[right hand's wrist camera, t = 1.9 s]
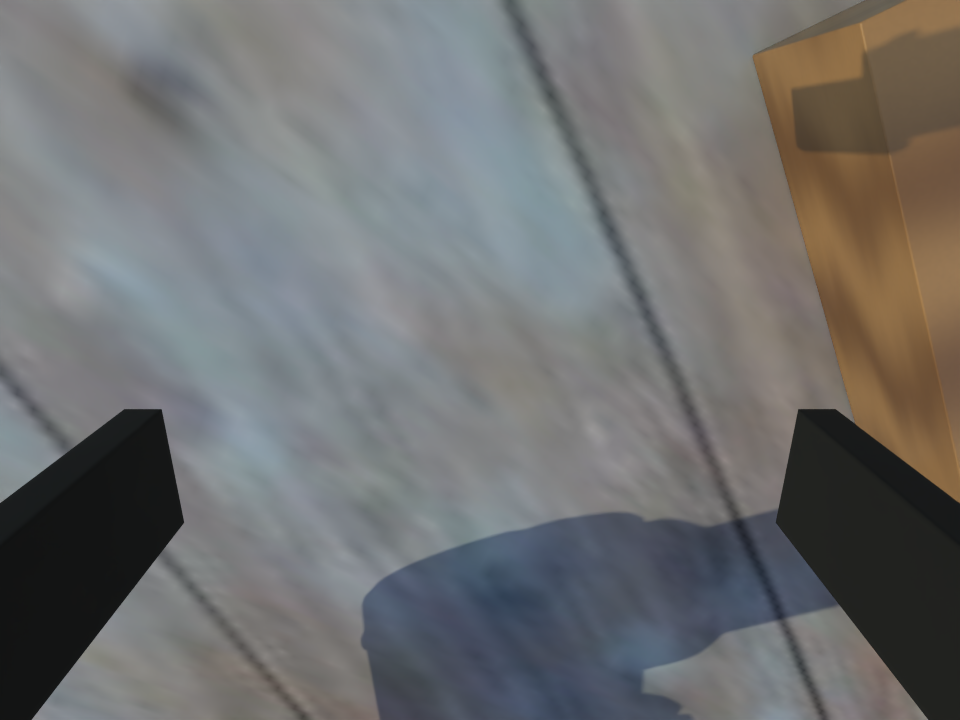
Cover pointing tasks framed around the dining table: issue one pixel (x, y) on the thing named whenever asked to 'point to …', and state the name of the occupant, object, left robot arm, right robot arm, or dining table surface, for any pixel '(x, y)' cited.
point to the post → (882, 210)
